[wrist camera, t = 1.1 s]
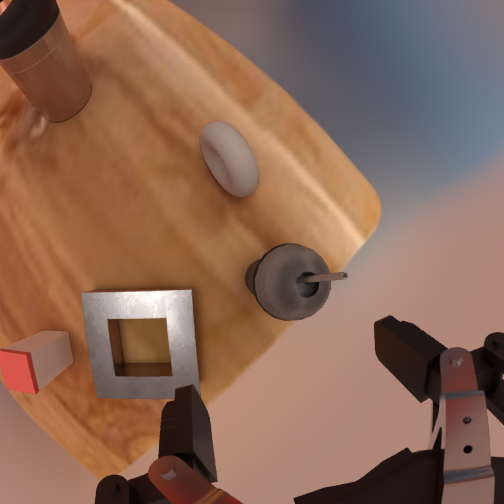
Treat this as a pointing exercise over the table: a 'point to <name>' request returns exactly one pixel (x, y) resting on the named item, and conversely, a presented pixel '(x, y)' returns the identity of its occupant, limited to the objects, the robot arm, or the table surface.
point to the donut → (229, 158)
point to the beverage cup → (291, 281)
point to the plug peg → (35, 360)
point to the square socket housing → (110, 350)
